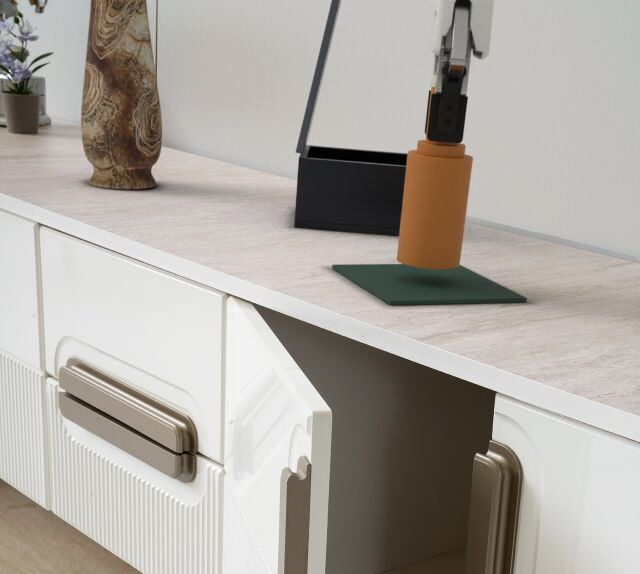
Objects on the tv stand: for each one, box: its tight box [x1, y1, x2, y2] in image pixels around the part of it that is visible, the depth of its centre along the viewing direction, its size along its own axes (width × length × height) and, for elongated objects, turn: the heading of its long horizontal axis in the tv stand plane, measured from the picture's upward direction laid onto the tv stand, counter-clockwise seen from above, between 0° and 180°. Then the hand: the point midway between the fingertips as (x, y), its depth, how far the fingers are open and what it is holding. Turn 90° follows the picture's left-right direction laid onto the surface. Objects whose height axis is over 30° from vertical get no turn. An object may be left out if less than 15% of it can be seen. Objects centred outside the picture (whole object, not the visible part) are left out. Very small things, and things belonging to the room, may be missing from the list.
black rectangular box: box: [293, 144, 408, 237], centre depth 134 cm, size 16×13×8 cm
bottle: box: [396, 73, 474, 270], centre depth 104 cm, size 6×6×17 cm
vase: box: [80, 0, 163, 190], centre depth 142 cm, size 10×11×30 cm
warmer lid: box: [295, 0, 343, 155], centre depth 129 cm, size 16×13×1 cm
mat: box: [331, 263, 528, 306], centre depth 108 cm, size 14×14×1 cm
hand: (443, 137), depth 103 cm, fingers closed on bottle, 3 cm apart
